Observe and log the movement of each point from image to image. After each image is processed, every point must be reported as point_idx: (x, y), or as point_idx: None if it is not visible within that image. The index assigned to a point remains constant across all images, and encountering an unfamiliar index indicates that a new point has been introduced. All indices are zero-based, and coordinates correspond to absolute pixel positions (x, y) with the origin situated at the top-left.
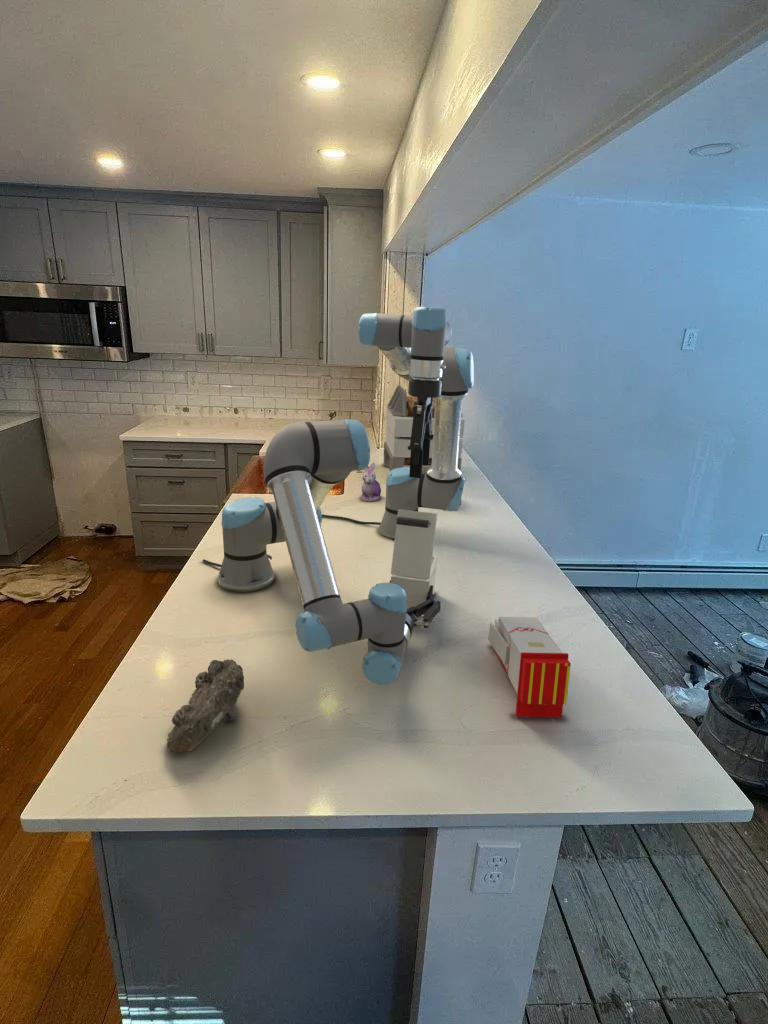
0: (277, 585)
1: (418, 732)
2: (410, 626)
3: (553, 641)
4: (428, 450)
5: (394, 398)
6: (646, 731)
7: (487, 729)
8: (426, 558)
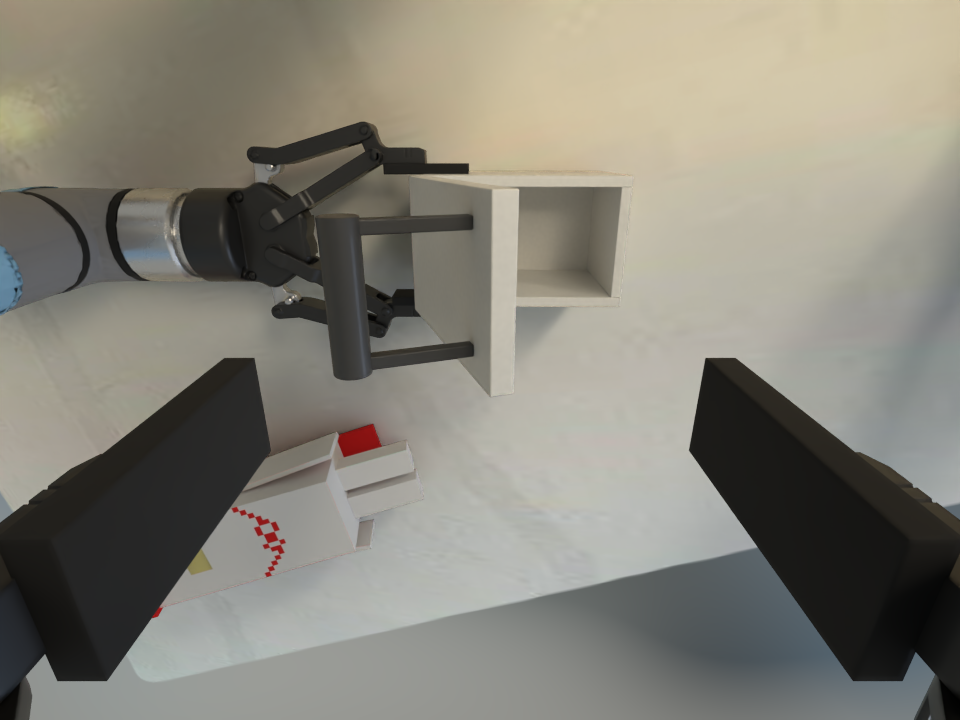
0: None
1: (44, 317)
2: (208, 280)
3: (229, 586)
4: (763, 544)
5: None
6: (234, 622)
7: (118, 425)
8: (430, 311)
